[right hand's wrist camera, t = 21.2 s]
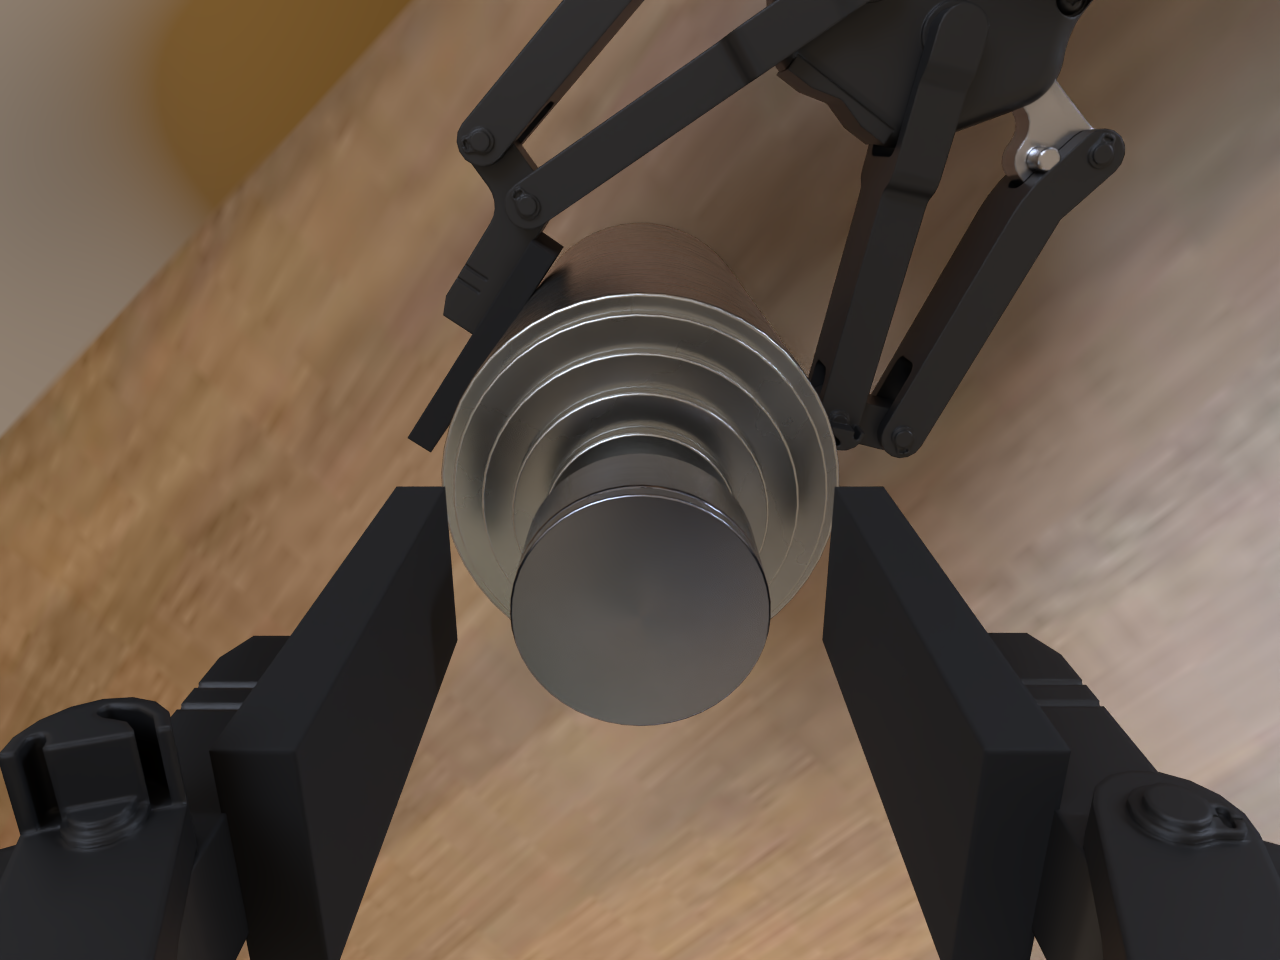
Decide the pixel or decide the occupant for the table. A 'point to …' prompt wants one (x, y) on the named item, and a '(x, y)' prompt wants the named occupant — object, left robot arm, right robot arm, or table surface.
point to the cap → (640, 592)
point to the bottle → (640, 404)
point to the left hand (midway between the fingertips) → (550, 505)
